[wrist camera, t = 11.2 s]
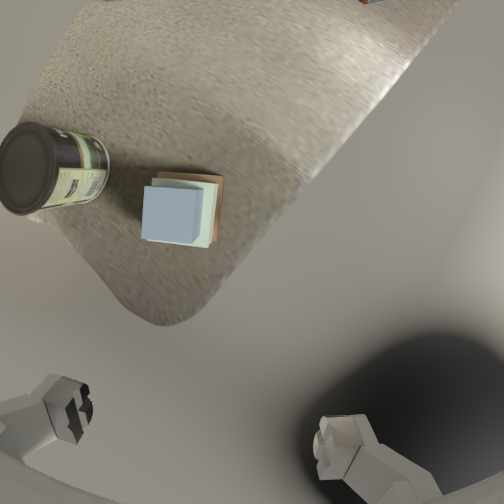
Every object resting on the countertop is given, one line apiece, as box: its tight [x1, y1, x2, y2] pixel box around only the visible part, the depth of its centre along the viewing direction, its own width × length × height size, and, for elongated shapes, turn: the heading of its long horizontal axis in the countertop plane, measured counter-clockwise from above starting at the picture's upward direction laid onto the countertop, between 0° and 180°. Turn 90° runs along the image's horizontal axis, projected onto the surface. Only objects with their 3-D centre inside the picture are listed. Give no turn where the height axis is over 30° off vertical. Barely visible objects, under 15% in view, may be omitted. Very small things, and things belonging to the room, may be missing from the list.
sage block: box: [147, 178, 218, 248], centre depth 35 cm, size 7×7×4 cm
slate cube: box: [141, 185, 204, 244], centre depth 30 cm, size 5×5×5 cm
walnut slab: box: [157, 172, 224, 242], centre depth 39 cm, size 8×8×4 cm
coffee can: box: [0, 122, 110, 216], centre depth 32 cm, size 10×10×14 cm
